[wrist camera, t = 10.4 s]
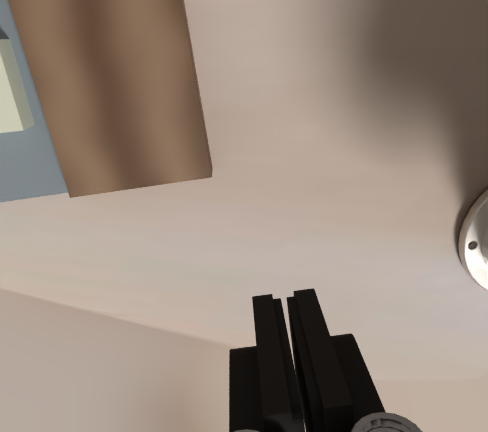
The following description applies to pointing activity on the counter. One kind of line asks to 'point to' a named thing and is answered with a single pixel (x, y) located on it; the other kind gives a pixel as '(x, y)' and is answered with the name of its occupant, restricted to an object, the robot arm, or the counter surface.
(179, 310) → the counter surface
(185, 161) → the walnut deck
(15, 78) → the sage tile
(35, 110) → the slate mat
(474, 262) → the robot arm
